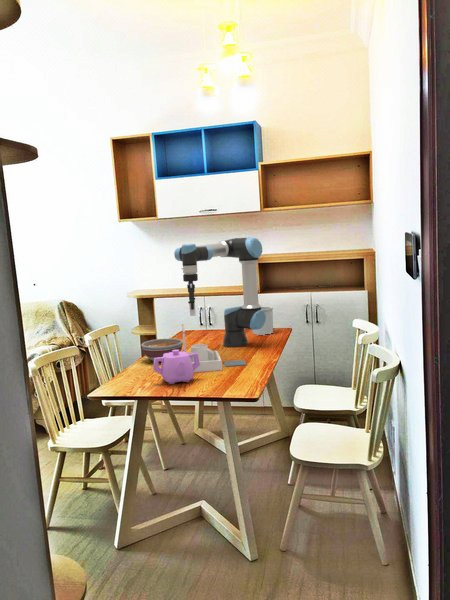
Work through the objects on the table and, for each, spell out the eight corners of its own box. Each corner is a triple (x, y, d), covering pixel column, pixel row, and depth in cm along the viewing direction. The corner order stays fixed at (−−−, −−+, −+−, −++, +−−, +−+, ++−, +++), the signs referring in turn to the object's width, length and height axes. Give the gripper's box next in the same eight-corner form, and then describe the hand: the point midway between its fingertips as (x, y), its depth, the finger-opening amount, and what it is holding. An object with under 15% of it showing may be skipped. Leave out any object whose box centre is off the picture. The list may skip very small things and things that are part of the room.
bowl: (135, 364, 310) (133, 346, 309) (154, 354, 331) (153, 338, 330) (173, 365, 302) (171, 347, 301) (190, 355, 323) (189, 338, 322)
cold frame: (217, 359, 310) (215, 321, 307) (222, 370, 286) (219, 329, 283) (184, 362, 308) (181, 324, 305) (185, 373, 284) (182, 331, 281)
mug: (211, 368, 291) (210, 347, 290) (189, 367, 295) (188, 347, 293) (216, 364, 299) (215, 344, 298) (195, 363, 303) (194, 344, 301)
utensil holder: (267, 336, 367) (265, 309, 365) (247, 335, 375) (246, 309, 373) (277, 332, 379) (276, 306, 377) (258, 331, 387) (257, 305, 385)
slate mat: (243, 360, 303) (243, 359, 303) (246, 365, 293) (246, 364, 292) (223, 362, 302) (223, 361, 302) (225, 367, 291) (225, 365, 291)
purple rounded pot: (184, 387, 257) (182, 355, 255) (150, 385, 265) (148, 353, 263) (204, 377, 274) (202, 346, 273) (171, 374, 282) (169, 345, 281)
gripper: (182, 272, 307) (185, 311, 309) (183, 275, 282) (185, 317, 285) (196, 271, 308) (199, 310, 310) (198, 274, 283) (200, 316, 285)
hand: (192, 314), depth 297 cm, fingers open, 13 cm apart
